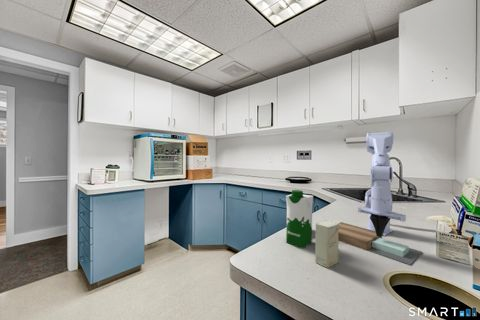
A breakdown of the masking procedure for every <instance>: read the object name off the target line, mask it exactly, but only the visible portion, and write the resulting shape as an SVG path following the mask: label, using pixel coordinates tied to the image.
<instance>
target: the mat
mask: <svg viewBox="0 0 480 320" xmlns="http://www.w3.org/2000/svg"><path fill="white" fill-rule="evenodd" d="M369 252H370V253H373V254H376V255H379V256H382V257H384V258H388V259H390V260H394V261H396V262H399V263H403V264H406V265H408V266H411V265H412V264H413V263H414V262H415V261H416V260H417V259H418V258H419V257H420V255H421V254H423V250H417V249H414V248H412V247H409V252H408V253H407V254H406V255H405V256H404V257H401V256H398V255H395V254H392V253H389V252H386V251H383V250H380V249H377V248H374V247H372V248H371V249H370V250H369Z"/></svg>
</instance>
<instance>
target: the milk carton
mask: <svg viewBox="0 0 480 320" xmlns="http://www.w3.org/2000/svg"><path fill="white" fill-rule="evenodd" d="M285 201H286V235H285V236H286V240H285V241H286V243H287V244H290V245H293V246H295V247H298V248H302V249H305V248H306V247H307V246H309V245H310V244H312V241H313V206H314V205H313V204H314V195H310V194H304V191H303V190H298V189H294V190H291V194H288V195H285Z"/></svg>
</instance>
